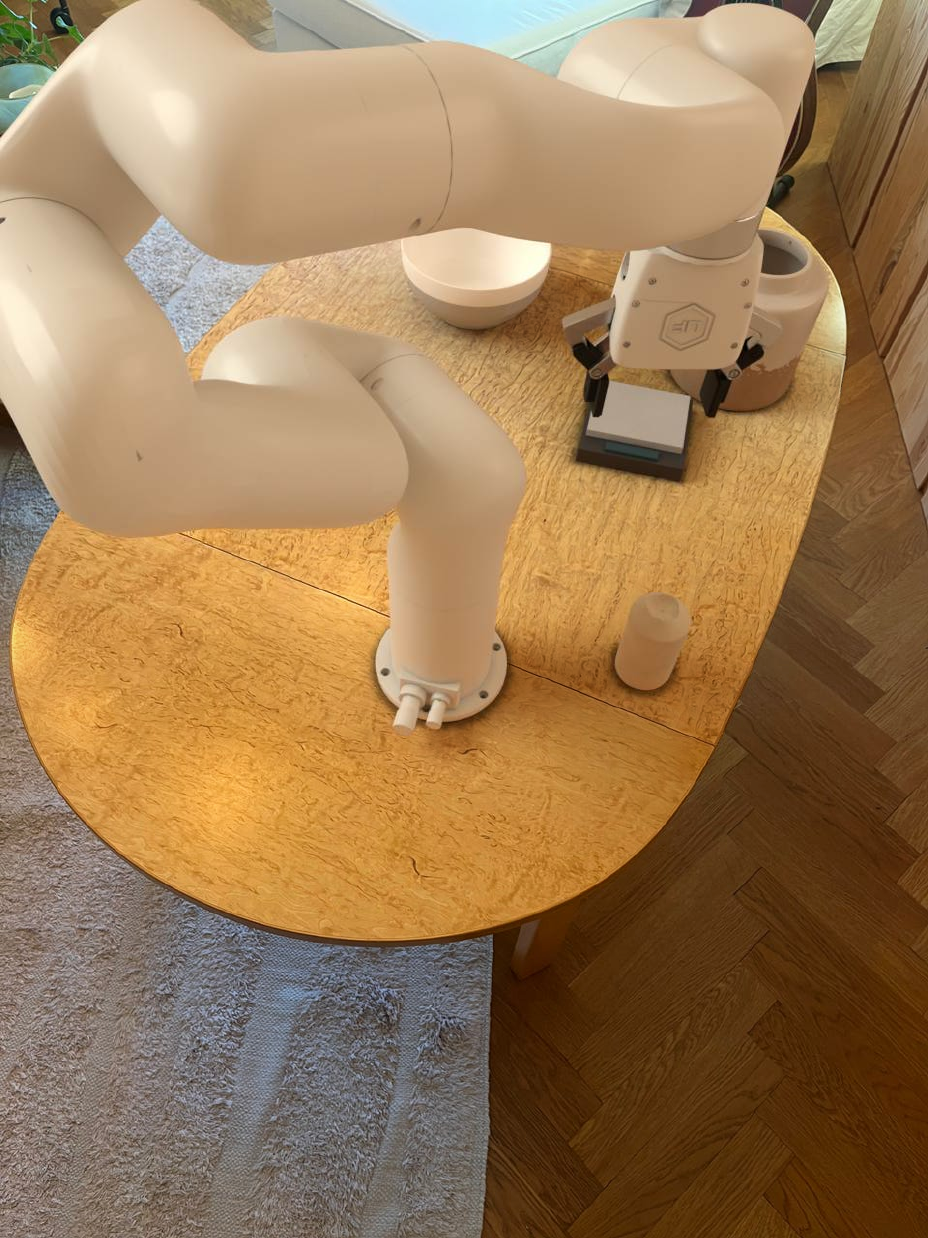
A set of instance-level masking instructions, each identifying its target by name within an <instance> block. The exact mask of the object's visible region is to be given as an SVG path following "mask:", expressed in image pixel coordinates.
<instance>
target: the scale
mask: <svg viewBox="0 0 928 1238" xmlns="http://www.w3.org/2000/svg"><path fill="white" fill-rule="evenodd" d="M691 397H692V396H690V395H688V394H687V395H686V394H682V393H676V392H671V391H666V390H660V389H656V388H655V389H654V388H650V387H644V386H639V385H634V384H629V383H625V382H618V381H613V380H609V386H608V391H607V395H606V399H605V404H604V408H603V413H602V416H600V417H593V416H592V411H591V406H590V402H588V405H587V409H586V413H585V418H584V421H583V427H582V431H581V435H580V439H579V442H578V447H577V452H576V455H575V461H576V462H580V463H585V464H590V465H593V466H594V465H596V466H600V467H605V468H610V469H615V470H620V471H625V472H630V473H635V474H639V475H645V476H650V477H654V478H660V479H665V480H669V481H675V482H680V481H681V478H682V475H683V473H684V467H685V462H686V454H687V448H688V447H687V446H688V439H689V432H690V425H691V419H692V413H693V405H694V398H691Z"/></svg>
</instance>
